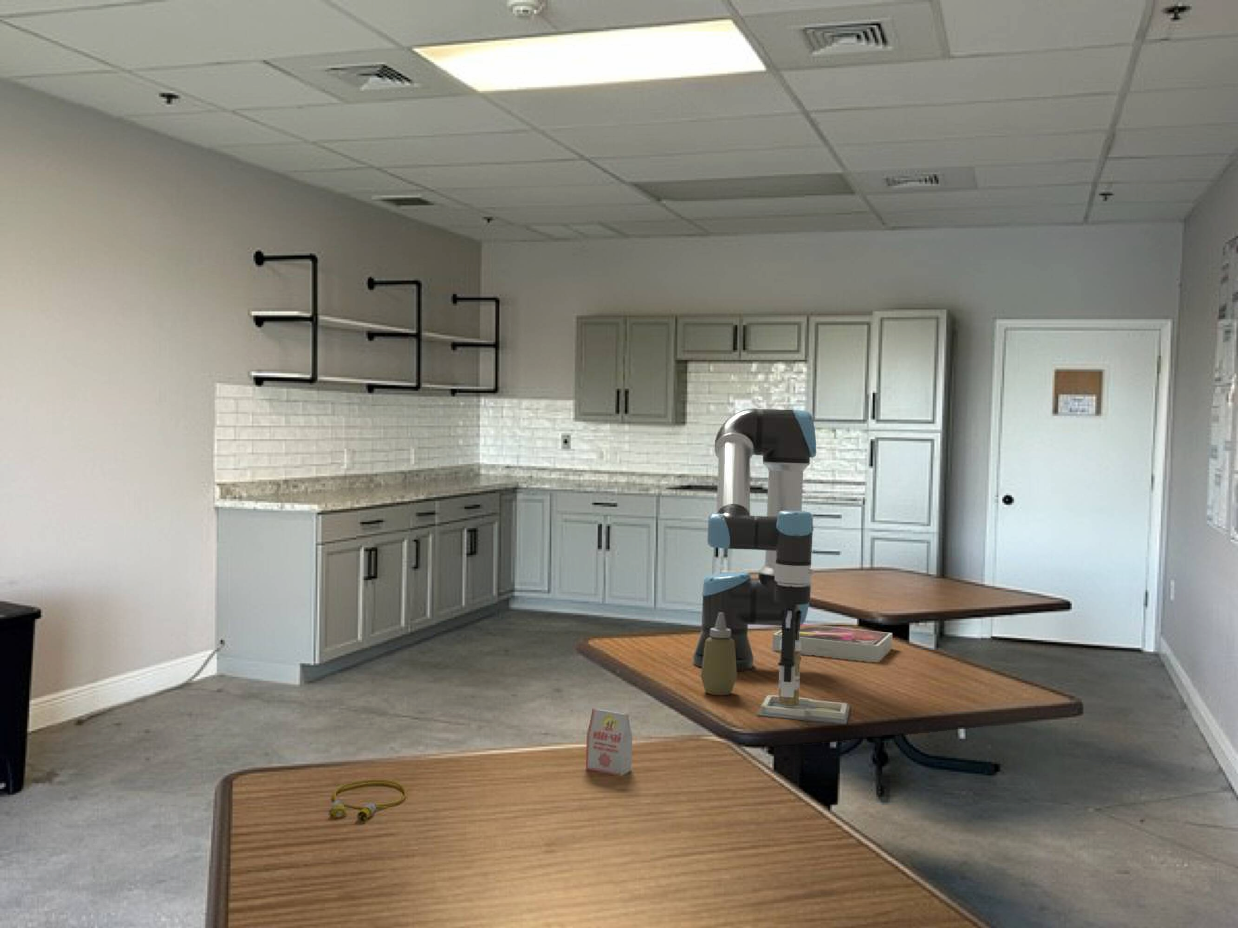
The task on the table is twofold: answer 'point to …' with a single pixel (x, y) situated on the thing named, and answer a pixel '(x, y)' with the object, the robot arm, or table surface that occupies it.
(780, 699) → the sprinkles bottle
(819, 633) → the product packaging
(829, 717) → the keyhole track
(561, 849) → the table surface
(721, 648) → the squeeze bottle
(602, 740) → the white paper bag
